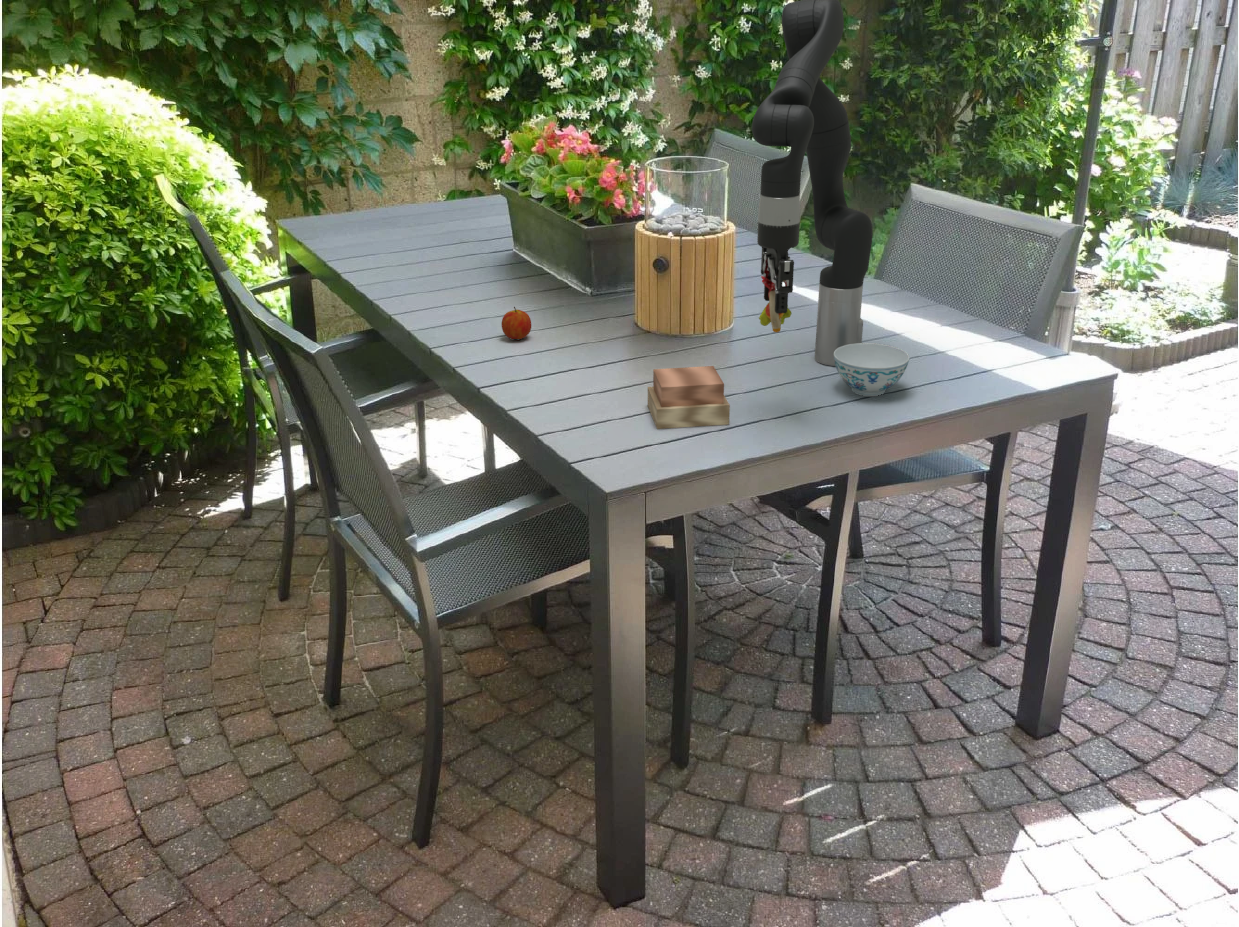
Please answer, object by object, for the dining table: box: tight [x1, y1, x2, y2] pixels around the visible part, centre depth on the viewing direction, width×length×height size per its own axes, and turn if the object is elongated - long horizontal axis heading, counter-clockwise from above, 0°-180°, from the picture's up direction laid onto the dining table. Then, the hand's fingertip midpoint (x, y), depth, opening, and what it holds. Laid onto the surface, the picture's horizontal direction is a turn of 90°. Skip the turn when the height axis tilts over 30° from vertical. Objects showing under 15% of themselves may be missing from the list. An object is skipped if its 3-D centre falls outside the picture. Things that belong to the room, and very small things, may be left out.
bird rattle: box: [758, 275, 792, 333], centre depth 209 cm, size 6×11×9 cm
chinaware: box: [834, 342, 910, 397], centre depth 227 cm, size 15×15×8 cm
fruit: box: [501, 306, 532, 340], centre depth 259 cm, size 7×7×8 cm
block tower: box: [647, 365, 731, 430], centre depth 216 cm, size 14×12×8 cm
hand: (775, 306), depth 208 cm, fingers closed on bird rattle, 7 cm apart
